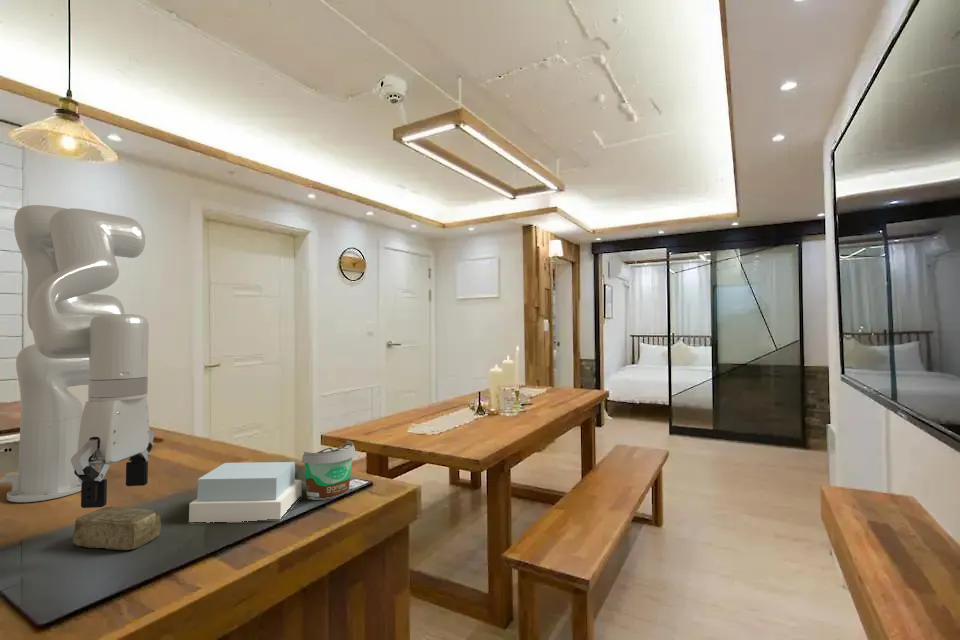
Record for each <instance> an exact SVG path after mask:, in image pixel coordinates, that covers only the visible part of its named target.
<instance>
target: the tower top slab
mask: <svg viewBox="0 0 960 640" xmlns="http://www.w3.org/2000/svg"><path fill="white" fill-rule="evenodd" d="M295 467H296V462H295V461H285V462H284V461H272V462H270V461H268V462H266V461H265V462H263V461H262V462H224V463H222V464H221V465H219V466H217V467H215V468H214V469H212V470H210V471H209V472H207V473H206V474H204V475H202V476H201V477H199V478H198V479H197V495H196V496H197V498H196V499H197V501H233V500H276V499H277V498H278V497H279V496H280V495H281V494H282V493H283V492H284V491H285V490H286V489H287V488H288V487H289V486H290V485H291V484H292V483H293V482H294V481H295V480H296V478H295V475H296V471H295V470H296V468H295Z"/></svg>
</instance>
